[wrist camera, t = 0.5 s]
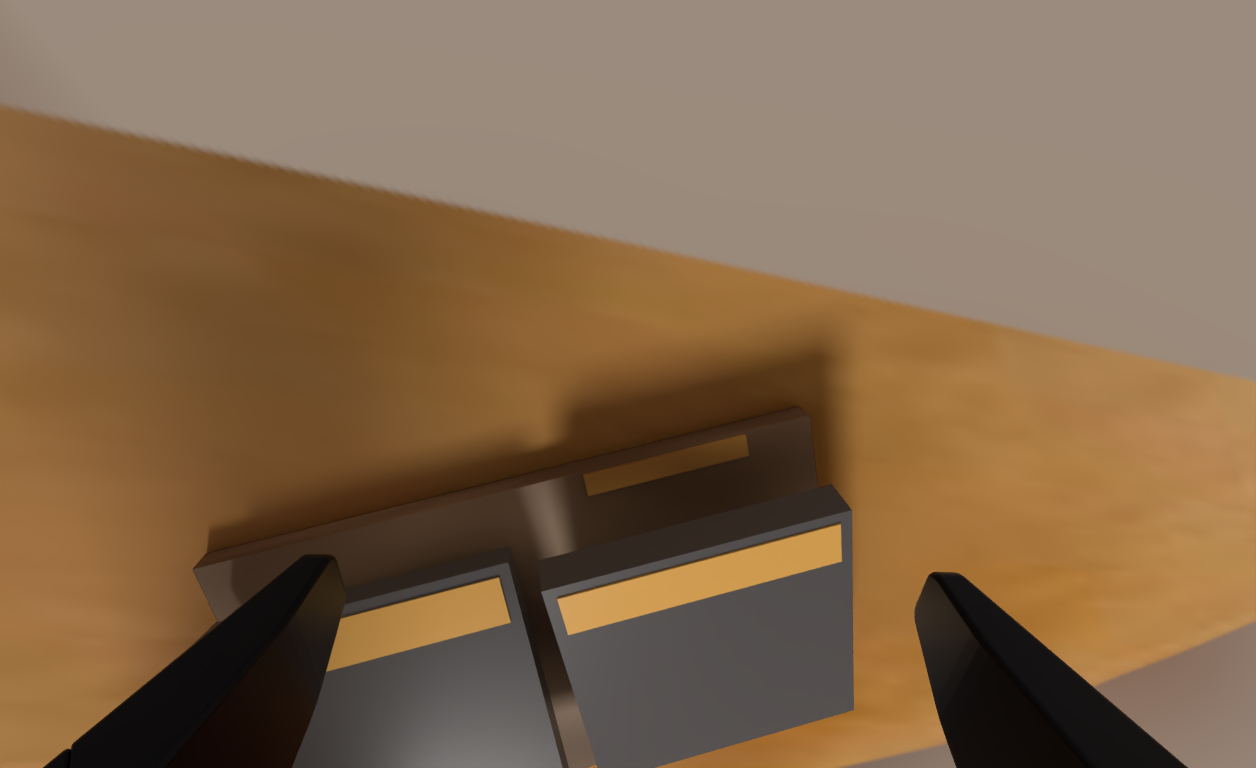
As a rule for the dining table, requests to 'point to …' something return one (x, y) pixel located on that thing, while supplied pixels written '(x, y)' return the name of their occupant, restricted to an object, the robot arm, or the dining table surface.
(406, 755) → the block
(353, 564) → the switch unit
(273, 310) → the dining table surface
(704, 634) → the rocker outer
